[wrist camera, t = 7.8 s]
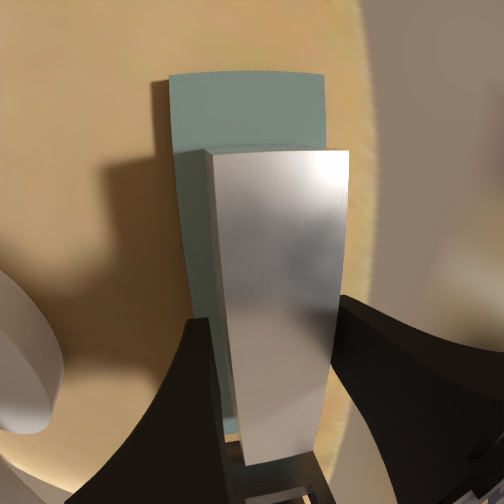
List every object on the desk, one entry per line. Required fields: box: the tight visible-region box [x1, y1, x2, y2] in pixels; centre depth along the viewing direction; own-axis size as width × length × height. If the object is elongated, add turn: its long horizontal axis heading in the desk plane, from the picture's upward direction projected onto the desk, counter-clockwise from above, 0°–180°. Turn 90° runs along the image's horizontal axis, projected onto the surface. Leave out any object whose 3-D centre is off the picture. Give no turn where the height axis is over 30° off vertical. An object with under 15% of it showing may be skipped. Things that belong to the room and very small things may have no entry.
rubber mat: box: [169, 71, 326, 435], centre depth 11 cm, size 16×5×1 cm, turn 3°
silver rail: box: [204, 144, 349, 466], centre depth 10 cm, size 12×3×3 cm, turn 3°
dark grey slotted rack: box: [225, 441, 336, 504], centre depth 15 cm, size 10×5×6 cm, turn 3°
